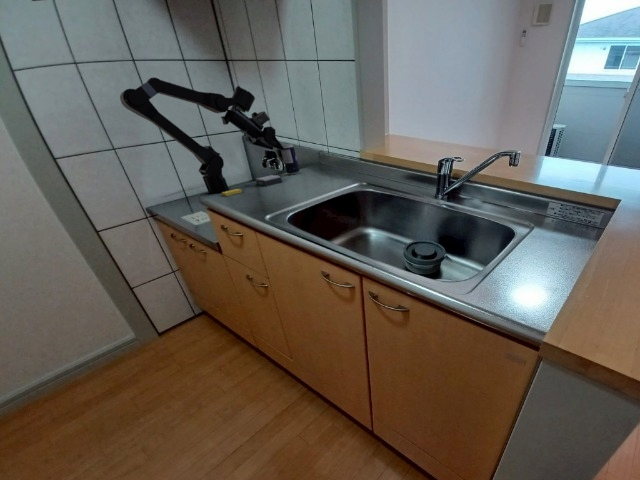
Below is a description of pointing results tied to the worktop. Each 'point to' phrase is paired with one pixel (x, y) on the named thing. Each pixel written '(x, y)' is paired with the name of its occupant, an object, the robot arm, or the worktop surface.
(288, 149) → the beverage can
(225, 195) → the sponge
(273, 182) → the kitchen scale
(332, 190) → the worktop surface
